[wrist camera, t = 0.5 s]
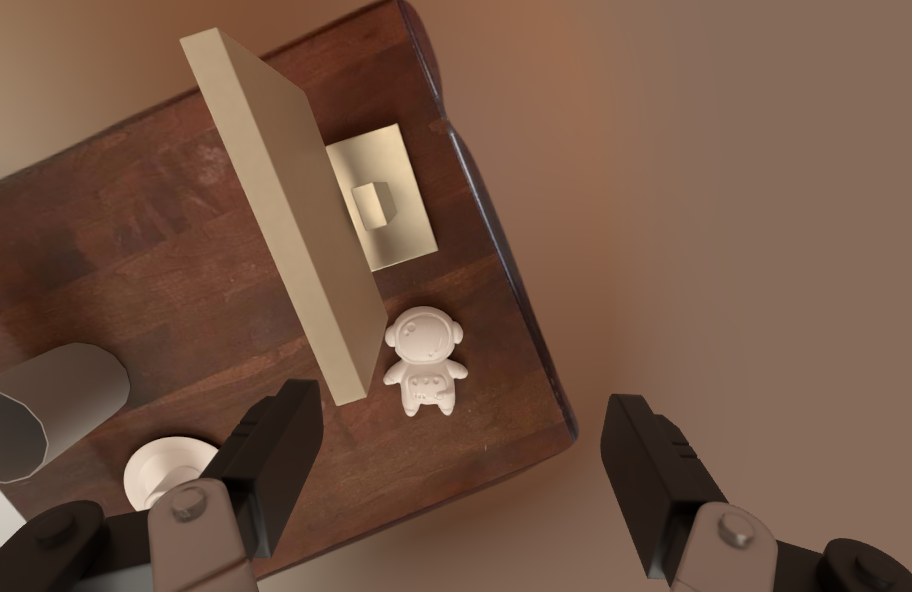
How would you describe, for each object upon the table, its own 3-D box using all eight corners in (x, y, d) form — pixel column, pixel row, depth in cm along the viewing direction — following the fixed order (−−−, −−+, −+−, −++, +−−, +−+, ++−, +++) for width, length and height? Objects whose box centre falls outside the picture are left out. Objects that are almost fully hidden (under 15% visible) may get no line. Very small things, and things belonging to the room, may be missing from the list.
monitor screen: (367, 324, 34) (333, 407, 22) (280, 99, 30) (174, 39, 17) (388, 317, 34) (367, 397, 22) (304, 91, 30) (216, 26, 17)
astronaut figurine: (383, 410, 47) (380, 425, 44) (386, 303, 44) (383, 311, 41) (463, 412, 48) (465, 427, 45) (472, 307, 45) (475, 316, 42)
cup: (130, 349, 44) (46, 397, 34) (130, 422, 45) (50, 487, 36) (38, 337, 43) (-75, 382, 33) (42, 412, 45) (-64, 476, 35)
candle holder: (194, 545, 50) (173, 578, 46) (104, 481, 47) (73, 511, 43) (266, 481, 48) (251, 509, 44) (178, 411, 46) (153, 435, 41)
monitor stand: (351, 276, 43) (324, 311, 31) (305, 154, 40) (255, 143, 28) (438, 248, 43) (443, 273, 31) (398, 124, 40) (387, 100, 28)
